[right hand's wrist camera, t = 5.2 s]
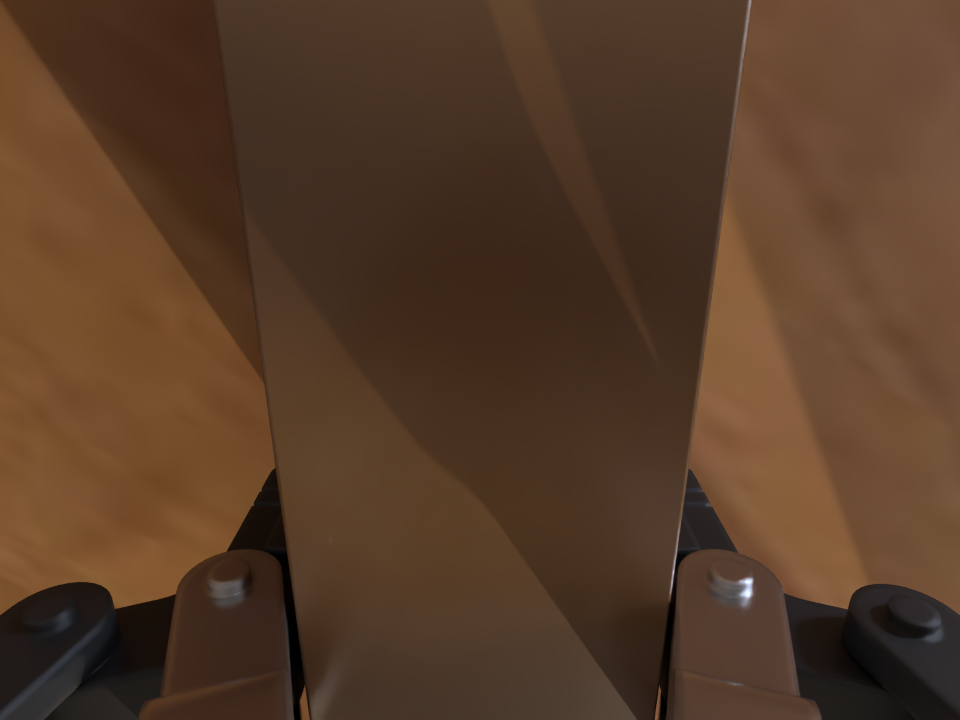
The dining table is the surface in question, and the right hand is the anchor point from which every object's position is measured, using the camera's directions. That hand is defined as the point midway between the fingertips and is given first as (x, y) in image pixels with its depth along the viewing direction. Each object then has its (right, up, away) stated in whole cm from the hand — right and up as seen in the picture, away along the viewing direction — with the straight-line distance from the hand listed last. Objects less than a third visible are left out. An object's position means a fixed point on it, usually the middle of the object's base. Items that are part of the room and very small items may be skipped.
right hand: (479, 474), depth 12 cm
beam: (0, +30, -9) cm, 31 cm away
